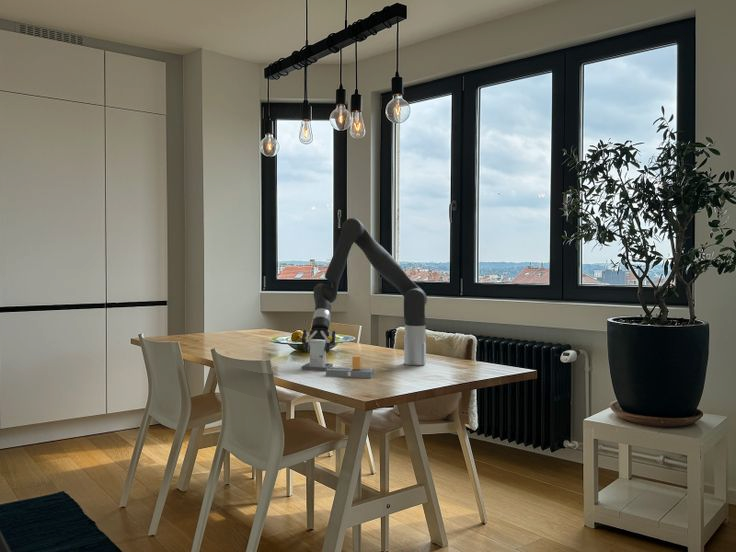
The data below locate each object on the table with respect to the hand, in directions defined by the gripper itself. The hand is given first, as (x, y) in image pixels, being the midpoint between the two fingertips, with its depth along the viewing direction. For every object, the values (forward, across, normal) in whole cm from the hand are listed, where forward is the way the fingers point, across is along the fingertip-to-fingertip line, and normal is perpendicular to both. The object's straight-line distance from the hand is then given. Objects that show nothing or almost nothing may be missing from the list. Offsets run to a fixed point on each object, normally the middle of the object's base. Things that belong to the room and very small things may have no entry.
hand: (316, 351), depth 270 cm
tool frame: (+4, 0, +6) cm, 7 cm away
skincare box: (+4, 0, +6) cm, 8 cm away
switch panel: (+14, +15, -4) cm, 21 cm away
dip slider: (+13, +18, -6) cm, 23 cm away
